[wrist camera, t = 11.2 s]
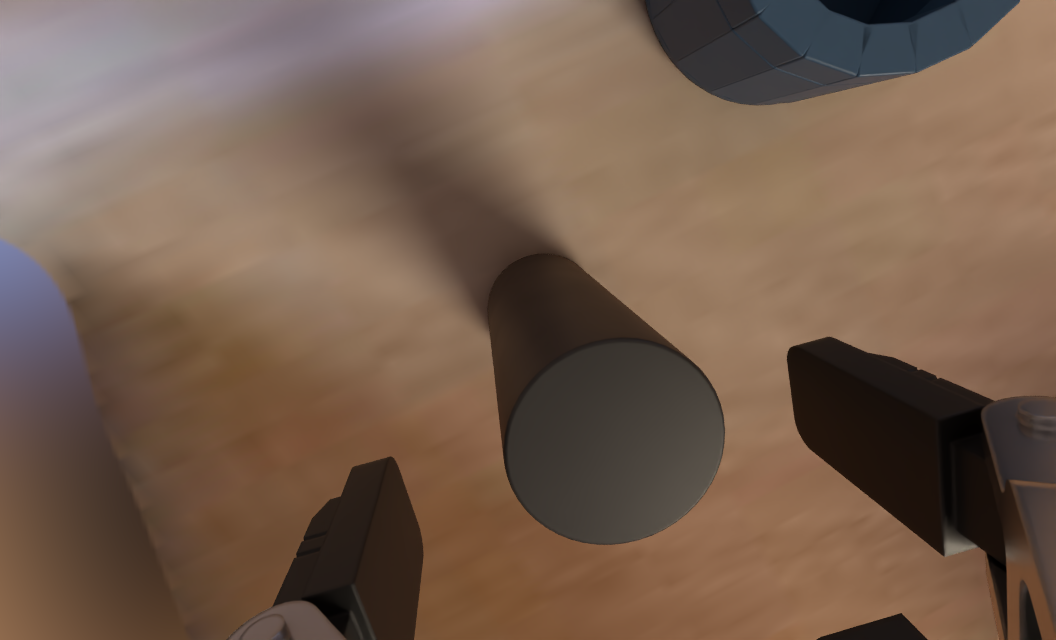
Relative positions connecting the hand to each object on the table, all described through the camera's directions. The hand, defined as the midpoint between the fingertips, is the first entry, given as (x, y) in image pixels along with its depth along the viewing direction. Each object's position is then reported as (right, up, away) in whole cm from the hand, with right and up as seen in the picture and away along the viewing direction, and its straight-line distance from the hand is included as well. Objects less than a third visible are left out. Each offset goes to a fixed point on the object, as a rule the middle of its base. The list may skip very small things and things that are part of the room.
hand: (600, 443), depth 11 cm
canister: (-1, +3, +11) cm, 12 cm away
